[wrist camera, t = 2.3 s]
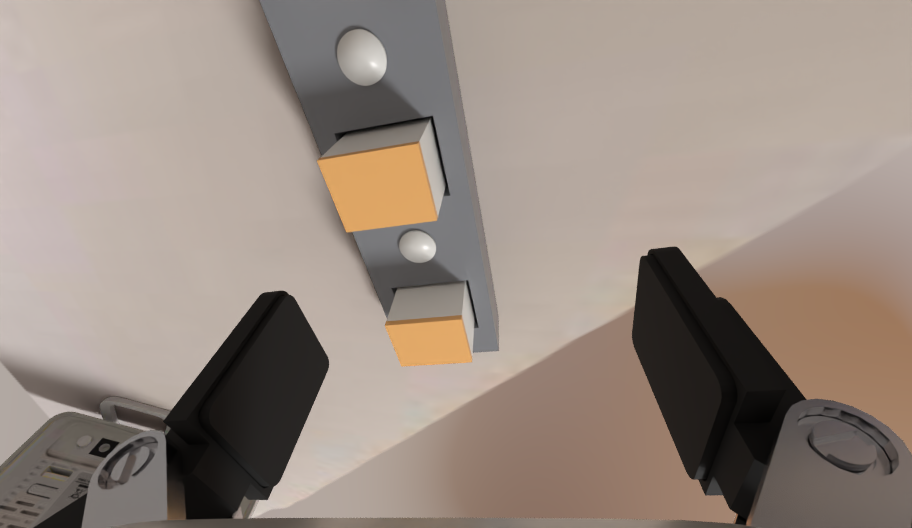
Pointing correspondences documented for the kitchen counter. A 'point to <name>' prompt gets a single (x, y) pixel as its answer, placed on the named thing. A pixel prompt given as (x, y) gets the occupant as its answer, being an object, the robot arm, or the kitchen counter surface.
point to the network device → (66, 463)
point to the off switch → (432, 324)
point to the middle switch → (385, 176)
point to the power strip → (385, 103)
